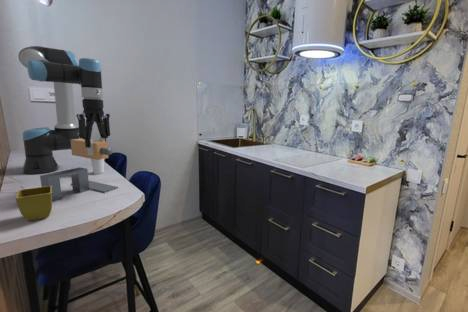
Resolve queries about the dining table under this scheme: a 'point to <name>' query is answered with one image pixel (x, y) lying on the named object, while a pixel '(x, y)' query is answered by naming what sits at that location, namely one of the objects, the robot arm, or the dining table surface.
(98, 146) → the plug
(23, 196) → the flower pot
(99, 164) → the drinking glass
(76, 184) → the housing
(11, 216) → the dining table surface
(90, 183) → the mat
